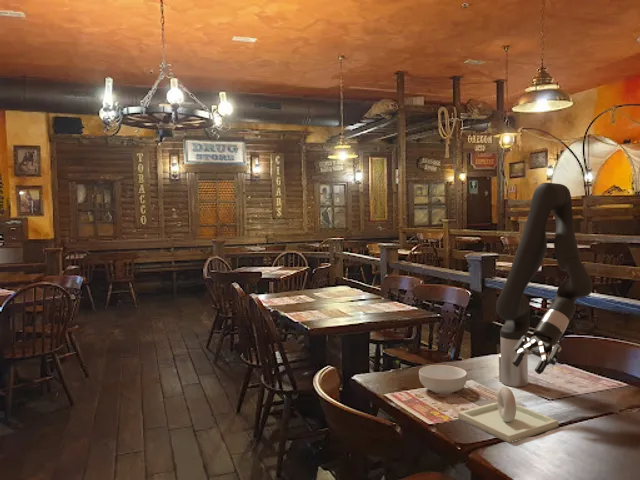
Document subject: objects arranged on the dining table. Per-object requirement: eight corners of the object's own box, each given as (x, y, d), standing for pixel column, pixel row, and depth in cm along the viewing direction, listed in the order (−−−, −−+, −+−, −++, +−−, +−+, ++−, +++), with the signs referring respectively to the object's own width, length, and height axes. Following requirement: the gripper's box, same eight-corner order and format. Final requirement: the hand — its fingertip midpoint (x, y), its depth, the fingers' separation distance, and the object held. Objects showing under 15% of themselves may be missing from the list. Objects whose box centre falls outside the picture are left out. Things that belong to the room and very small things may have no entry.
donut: (518, 427, 148) (517, 393, 148) (506, 427, 148) (505, 393, 148) (507, 414, 158) (506, 382, 158) (496, 414, 158) (495, 382, 158)
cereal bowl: (448, 402, 171) (448, 382, 171) (409, 391, 184) (409, 371, 183) (476, 390, 182) (476, 370, 182) (437, 380, 195) (437, 361, 194)
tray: (458, 418, 157) (458, 412, 157) (504, 405, 166) (504, 399, 166) (509, 443, 140) (509, 436, 140) (558, 427, 149) (558, 420, 149)
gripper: (527, 316, 166) (501, 356, 162) (565, 324, 154) (538, 367, 149) (538, 330, 169) (513, 369, 164) (577, 339, 156) (551, 382, 152)
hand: (525, 368), depth 157 cm, fingers open, 8 cm apart
